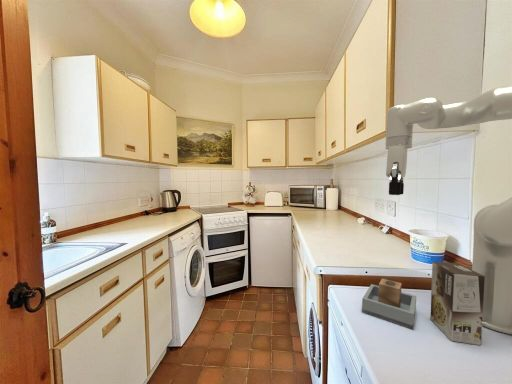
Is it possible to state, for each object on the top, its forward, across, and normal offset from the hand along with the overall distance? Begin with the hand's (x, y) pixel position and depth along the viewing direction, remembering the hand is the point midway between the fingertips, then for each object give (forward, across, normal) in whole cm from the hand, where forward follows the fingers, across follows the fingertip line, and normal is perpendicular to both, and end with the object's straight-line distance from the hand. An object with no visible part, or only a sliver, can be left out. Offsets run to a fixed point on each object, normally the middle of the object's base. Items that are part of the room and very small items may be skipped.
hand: (396, 194), depth 76 cm
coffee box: (+34, +15, +15) cm, 40 cm away
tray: (+33, +15, +1) cm, 37 cm away
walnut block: (+32, +15, +1) cm, 36 cm away
